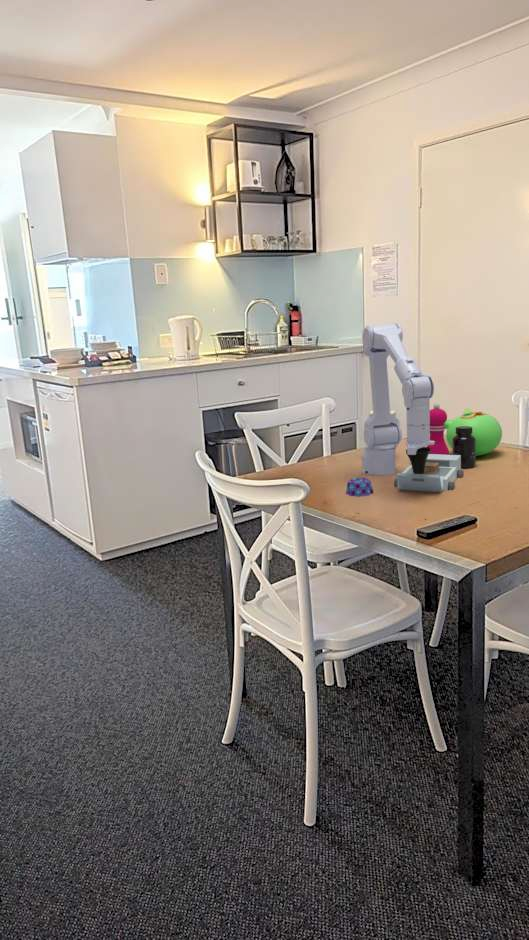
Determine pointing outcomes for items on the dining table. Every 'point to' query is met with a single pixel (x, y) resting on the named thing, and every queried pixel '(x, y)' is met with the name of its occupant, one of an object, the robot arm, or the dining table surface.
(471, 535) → the dining table surface
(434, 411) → the pepper mill
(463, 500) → the dining table surface
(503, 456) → the dining table surface
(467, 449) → the supplement bottle
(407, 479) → the panel
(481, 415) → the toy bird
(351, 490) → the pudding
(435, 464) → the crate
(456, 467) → the ute bed
